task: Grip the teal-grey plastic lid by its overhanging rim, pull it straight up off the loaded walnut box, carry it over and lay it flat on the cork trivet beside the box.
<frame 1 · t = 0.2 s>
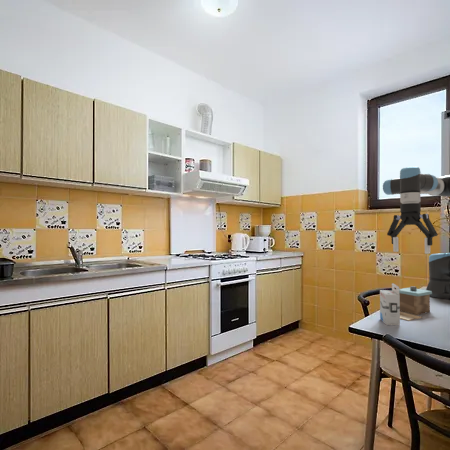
hand: (411, 252, 133), 26 cm above the table, fingers open, 13 cm apart
lid: (413, 295, 136), point 7 cm above the table, touching box
trivet: (404, 316, 128), on the table
ink box: (389, 322, 121), on the table
box: (413, 311, 136), on the table
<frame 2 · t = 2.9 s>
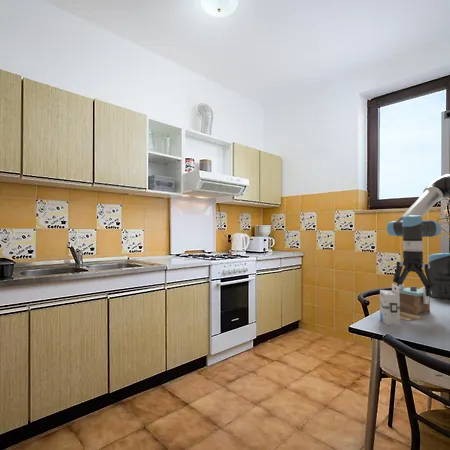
hand: (413, 301, 136), 5 cm above the table, fingers closed on lid, 10 cm apart
lid: (413, 295, 136), point 7 cm above the table, touching box, gripper
everything else where it was.
when the fingers open (1 cm above the table, at t = 11.1 s): lid drops 3 cm, resting on trivet.
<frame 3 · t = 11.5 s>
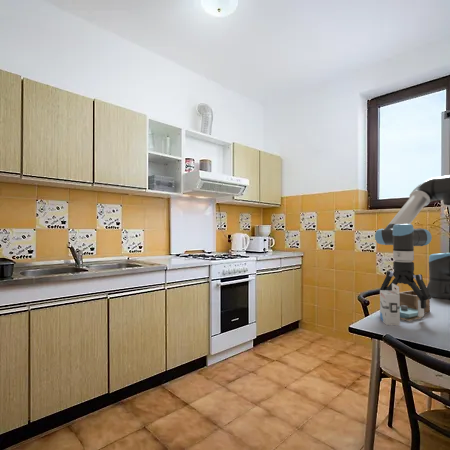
hand: (404, 312, 128), 2 cm above the table, fingers open, 13 cm apart
lid: (404, 315, 128), resting on trivet
everything else where it was.
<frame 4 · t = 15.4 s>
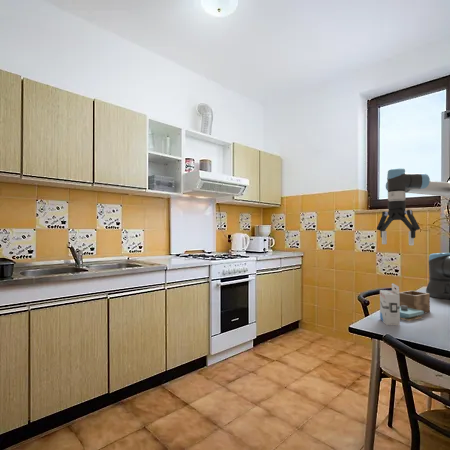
hand: (397, 244, 149), 29 cm above the table, fingers open, 13 cm apart
nothing on the table moved.
at the end: lid inside the target area on the trivet (0.0 cm from its centre), point 0.4 cm above the trivet's base; lid tilted 0°; lid touching trivet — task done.
